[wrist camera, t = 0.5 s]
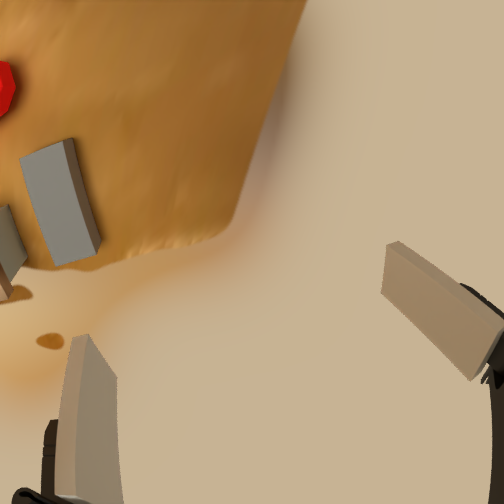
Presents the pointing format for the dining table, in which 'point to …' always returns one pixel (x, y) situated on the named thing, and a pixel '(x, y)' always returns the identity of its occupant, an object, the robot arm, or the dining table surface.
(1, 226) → the open box
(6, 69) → the ball
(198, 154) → the dining table surface
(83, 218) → the block
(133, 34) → the dining table surface
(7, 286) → the lid
